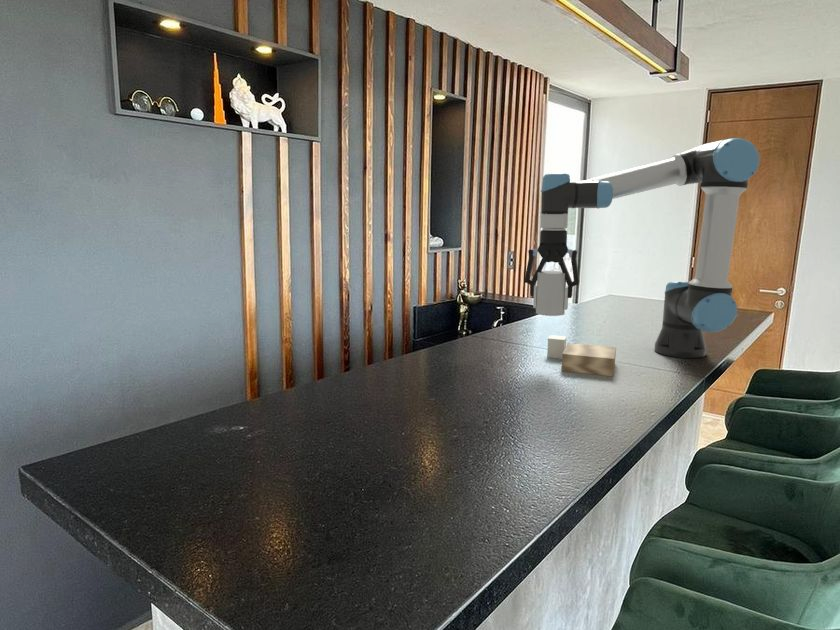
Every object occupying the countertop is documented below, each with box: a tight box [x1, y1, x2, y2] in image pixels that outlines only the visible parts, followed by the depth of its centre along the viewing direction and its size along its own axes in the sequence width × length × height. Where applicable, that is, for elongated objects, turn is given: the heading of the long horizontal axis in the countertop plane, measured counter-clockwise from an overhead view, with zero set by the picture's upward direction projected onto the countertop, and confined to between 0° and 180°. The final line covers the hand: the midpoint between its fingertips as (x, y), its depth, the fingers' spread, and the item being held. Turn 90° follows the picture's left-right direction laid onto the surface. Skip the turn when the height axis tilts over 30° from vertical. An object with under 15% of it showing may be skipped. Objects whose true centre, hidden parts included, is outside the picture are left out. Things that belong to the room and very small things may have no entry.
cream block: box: [546, 334, 567, 360], centre depth 181 cm, size 5×5×6 cm
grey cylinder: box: [535, 270, 567, 317], centre depth 169 cm, size 8×8×12 cm
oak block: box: [561, 342, 617, 377], centre depth 169 cm, size 14×14×5 cm
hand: (550, 308), depth 169 cm, fingers closed on grey cylinder, 8 cm apart
